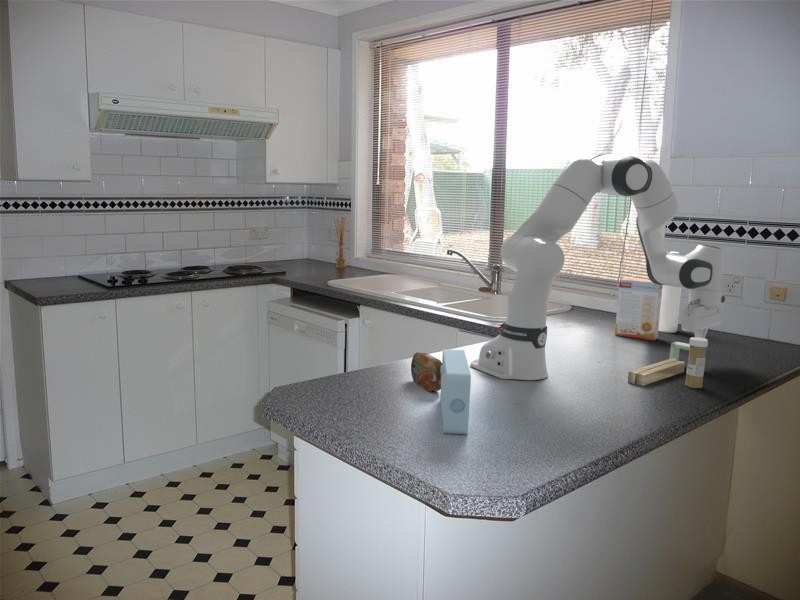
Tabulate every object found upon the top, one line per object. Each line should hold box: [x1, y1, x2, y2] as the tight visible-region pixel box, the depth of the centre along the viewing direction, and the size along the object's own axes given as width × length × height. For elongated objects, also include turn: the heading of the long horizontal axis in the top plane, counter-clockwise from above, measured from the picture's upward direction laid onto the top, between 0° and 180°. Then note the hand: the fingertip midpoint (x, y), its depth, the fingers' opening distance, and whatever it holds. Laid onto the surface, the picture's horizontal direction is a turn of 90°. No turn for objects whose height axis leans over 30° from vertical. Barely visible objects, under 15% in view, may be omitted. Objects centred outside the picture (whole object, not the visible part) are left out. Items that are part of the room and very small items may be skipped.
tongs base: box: [627, 358, 684, 385], centre depth 198 cm, size 3×27×3 cm, turn 133°
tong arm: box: [635, 361, 686, 387], centre depth 196 cm, size 2×24×3 cm, turn 133°
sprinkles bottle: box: [684, 336, 709, 389], centre depth 188 cm, size 5×5×14 cm
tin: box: [410, 351, 442, 392], centre depth 178 cm, size 15×3×8 cm, turn 23°
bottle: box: [658, 251, 683, 334], centre depth 260 cm, size 8×8×30 cm
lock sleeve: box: [668, 341, 690, 359], centre depth 208 cm, size 8×4×7 cm, turn 43°
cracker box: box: [614, 277, 663, 341], centre depth 248 cm, size 14×6×21 cm, turn 58°
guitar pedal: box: [439, 348, 472, 435], centre depth 155 cm, size 23×6×13 cm, turn 179°
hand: (699, 342), depth 212 cm, fingers closed
